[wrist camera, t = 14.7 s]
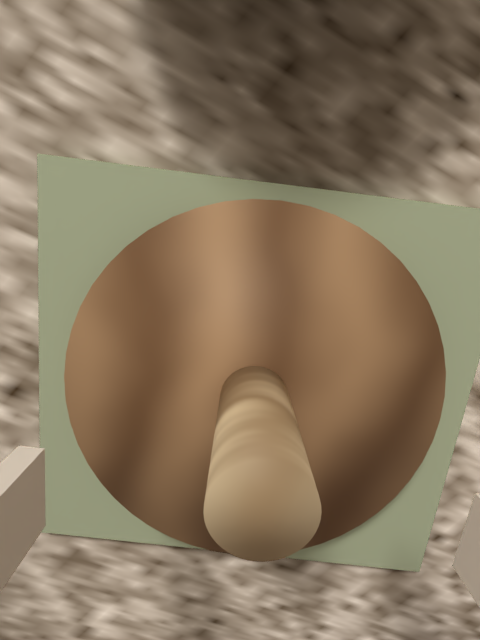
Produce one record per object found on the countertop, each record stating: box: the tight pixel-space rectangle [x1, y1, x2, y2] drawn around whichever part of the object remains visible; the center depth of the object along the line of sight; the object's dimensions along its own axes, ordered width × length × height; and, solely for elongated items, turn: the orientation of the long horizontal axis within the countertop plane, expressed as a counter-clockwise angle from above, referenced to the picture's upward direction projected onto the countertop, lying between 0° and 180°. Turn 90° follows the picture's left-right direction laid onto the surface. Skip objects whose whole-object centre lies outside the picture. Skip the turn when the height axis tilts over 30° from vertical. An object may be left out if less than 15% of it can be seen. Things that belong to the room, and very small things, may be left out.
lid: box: [64, 199, 446, 562], centre depth 15 cm, size 20×20×9 cm
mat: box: [37, 154, 480, 572], centre depth 20 cm, size 24×22×1 cm
